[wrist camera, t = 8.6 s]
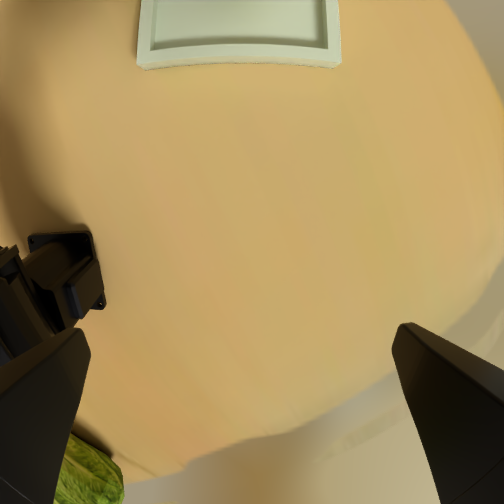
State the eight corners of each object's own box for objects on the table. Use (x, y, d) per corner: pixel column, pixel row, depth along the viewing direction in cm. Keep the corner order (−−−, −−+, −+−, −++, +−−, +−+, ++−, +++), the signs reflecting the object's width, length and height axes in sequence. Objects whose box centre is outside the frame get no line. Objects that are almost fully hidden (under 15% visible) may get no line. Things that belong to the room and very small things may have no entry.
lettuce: (-11, 385, 29) (11, 347, 27) (98, 476, 35) (145, 459, 33) (-52, 438, 15) (-48, 413, 13) (80, 537, 21) (128, 539, 19)
